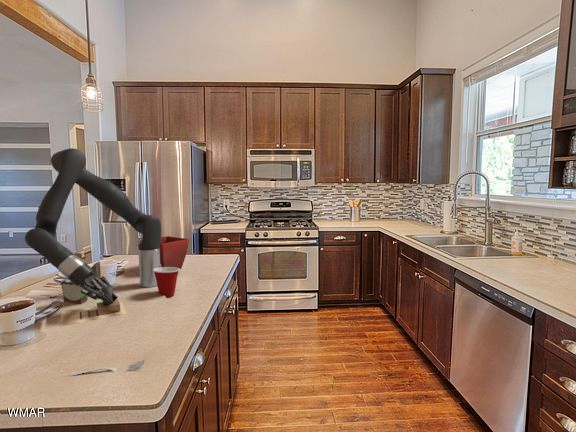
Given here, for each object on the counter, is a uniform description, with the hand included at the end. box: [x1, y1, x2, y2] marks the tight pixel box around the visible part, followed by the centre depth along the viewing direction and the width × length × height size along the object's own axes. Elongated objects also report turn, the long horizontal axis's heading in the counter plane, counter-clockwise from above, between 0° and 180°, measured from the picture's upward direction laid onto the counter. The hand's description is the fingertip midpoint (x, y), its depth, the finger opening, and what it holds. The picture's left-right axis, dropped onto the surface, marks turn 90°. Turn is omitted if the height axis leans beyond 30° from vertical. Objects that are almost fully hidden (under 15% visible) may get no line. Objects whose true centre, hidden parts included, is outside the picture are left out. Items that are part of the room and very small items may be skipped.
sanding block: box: [96, 285, 120, 315], centre depth 125 cm, size 7×7×8 cm
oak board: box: [59, 301, 128, 327], centre depth 123 cm, size 20×14×2 cm
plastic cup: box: [153, 267, 181, 299], centre depth 146 cm, size 11×11×12 cm
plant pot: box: [139, 235, 190, 270], centre depth 190 cm, size 19×19×17 cm
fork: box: [71, 359, 147, 376], centre depth 88 cm, size 3×24×2 cm, turn 104°
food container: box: [59, 278, 88, 305], centre depth 136 cm, size 12×6×10 cm, turn 71°
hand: (113, 301), depth 125 cm, fingers closed on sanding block, 3 cm apart
